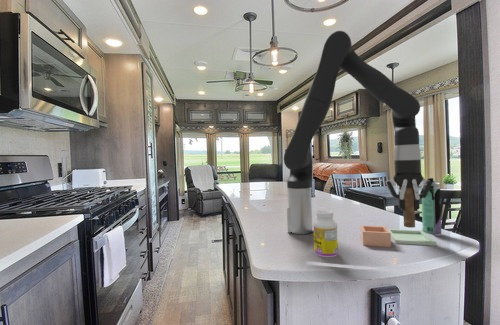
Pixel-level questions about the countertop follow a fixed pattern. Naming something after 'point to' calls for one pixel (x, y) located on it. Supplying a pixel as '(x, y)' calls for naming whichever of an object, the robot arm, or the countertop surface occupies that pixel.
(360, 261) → the countertop surface
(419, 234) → the tray
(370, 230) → the peach planter box
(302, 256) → the countertop surface
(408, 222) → the dowel
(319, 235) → the supplement bottle
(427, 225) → the spray can
